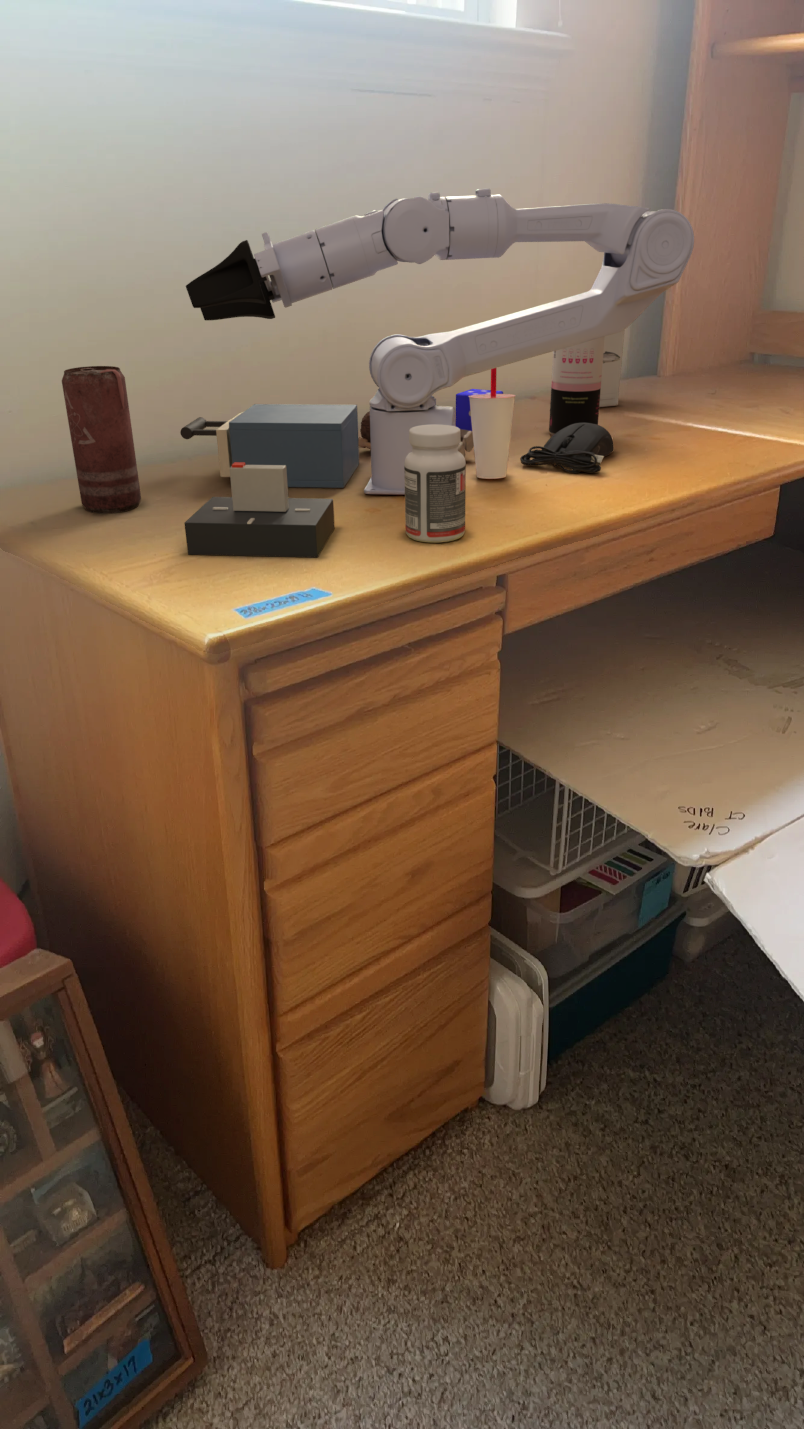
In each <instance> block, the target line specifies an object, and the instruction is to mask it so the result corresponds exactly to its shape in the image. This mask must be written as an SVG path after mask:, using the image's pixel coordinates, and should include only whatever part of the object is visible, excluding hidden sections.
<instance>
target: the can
mask: <svg viewBox="0 0 804 1429" xmlns="http://www.w3.org/2000/svg"><path fill="white" fill-rule="evenodd" d="M61 384H62V385H61V386H62V391H63V392H62V393H63V398H64V404H65V405H64V406H65V410H66V416H67V424H68V429H69V434H70V441H71V446H72V447H71V448H72V453H73V454H72V455H73V458H74V459H73V460H74V466H75V471H76V479H77V483H78V490H79V496H80V503H81V505H82V506H83V508H84V509H85V510H86V511H87V512H90V513H93V514H116V513H124V512H129V511H131V510H134V509H136V508H137V507H139V506H140V503H141V501H142V494H141V486H140V479H139V471H138V464H137V457H136V450H135V442H134V435H133V428H132V419H131V412H130V406H129V405H130V404H129V398H128V391H127V382H126V377H125V375H124V374H123V373H122V371H121V367H118V366H111V365H91V366H78V367H73V368H68V369H65V370H63V376H62V378H61Z"/></svg>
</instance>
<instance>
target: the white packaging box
mask: <svg viewBox="0 0 804 1429" xmlns="http://www.w3.org/2000/svg"><path fill="white" fill-rule="evenodd" d="M625 330H626V329H624V330H622V331H620V332H618V333H614V334H611V335H607V336H605V338H604V351H603V365H602V378H601V391H600V404H599V408H606V407H617V406H618V405H619V396H620V386H621V376H622V375H621V374H622V364H623V352H624V341H625Z"/></svg>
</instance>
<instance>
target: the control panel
mask: <svg viewBox="0 0 804 1429" xmlns="http://www.w3.org/2000/svg"><path fill="white" fill-rule="evenodd" d="M288 500H289V508H288V510H287V511H286V512H265V511H234V510H233V501H232V496H212V497H211V498H210V499H208V500H207V501H206V502H205V503H204V504H203V505H201V507H199V508H198V510H196V511H195V512H193V514H192V515H191V516H190V517H188V518H187V519H186V520H185V521H184V523H183V524H184V532H185V541H186V549H187V550H186V551H187V555H189V556H190V555H191V556H193V555H194V556H229V557H231V556H232V557H233V556H234V557H273V558H276V557H277V558H318V557H319V555H321V552H322V550H323V549H324V547H325V546H326V544H327V542H328V541H329V539H330V537H331V535H332V533H333V532H334V531H335V511H334V510H335V509H334V508H335V507H334V498H319V497H318V498H317V497H316V498H314V497H313V498H312V497H309V498H307V497H288Z"/></svg>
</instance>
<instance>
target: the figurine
mask: <svg viewBox="0 0 804 1429" xmlns="http://www.w3.org/2000/svg"><path fill="white" fill-rule="evenodd" d="M359 429H360V430H359V432H360V436H358V442H359V448H362V449H368V450H370V452H371V439H370V410H369V411H367V412H366V413H365V414H364V415H363V417H362V418H361V421H360V428H359ZM460 440H461V442H460V443H459V445H458V446H457V448H458V451H459V452H460V453H461V454H462V455H463V456H464V458H465V459H466V452H468V453H470V452H472V451H473V450H474V443H473V433H472V431H469V430H464V429H460Z"/></svg>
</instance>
